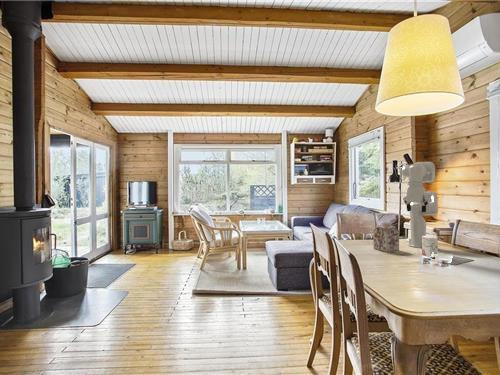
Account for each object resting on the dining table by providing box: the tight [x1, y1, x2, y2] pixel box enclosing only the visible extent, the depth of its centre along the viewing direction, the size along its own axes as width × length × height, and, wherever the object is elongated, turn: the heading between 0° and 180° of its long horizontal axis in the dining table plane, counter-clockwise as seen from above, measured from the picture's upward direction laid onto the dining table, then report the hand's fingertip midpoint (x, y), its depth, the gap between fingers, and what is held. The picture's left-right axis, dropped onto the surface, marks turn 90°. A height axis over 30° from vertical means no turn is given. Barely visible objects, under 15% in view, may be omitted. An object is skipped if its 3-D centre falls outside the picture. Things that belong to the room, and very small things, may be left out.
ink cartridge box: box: [421, 230, 439, 257], centre depth 177 cm, size 9×5×15 cm, turn 179°
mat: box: [449, 255, 475, 266], centre depth 167 cm, size 14×20×1 cm
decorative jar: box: [372, 222, 400, 253], centre depth 196 cm, size 12×12×18 cm
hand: (416, 211), depth 186 cm, fingers open, 9 cm apart
